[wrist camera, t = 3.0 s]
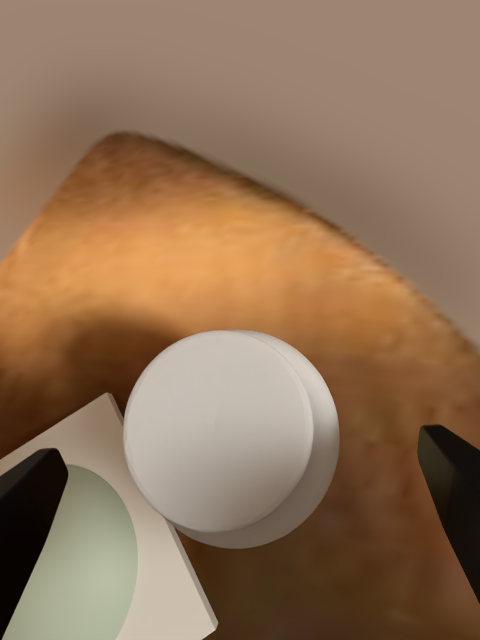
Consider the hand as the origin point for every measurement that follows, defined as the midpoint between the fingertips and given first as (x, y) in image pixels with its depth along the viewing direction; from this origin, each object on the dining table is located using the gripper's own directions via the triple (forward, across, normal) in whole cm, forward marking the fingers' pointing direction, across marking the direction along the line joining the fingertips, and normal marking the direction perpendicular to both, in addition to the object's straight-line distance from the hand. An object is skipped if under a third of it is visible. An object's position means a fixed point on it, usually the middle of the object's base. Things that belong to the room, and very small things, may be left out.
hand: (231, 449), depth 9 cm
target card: (+3, +10, +9) cm, 13 cm away
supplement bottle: (+6, 0, +6) cm, 8 cm away
